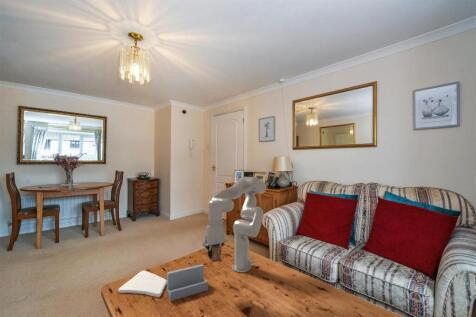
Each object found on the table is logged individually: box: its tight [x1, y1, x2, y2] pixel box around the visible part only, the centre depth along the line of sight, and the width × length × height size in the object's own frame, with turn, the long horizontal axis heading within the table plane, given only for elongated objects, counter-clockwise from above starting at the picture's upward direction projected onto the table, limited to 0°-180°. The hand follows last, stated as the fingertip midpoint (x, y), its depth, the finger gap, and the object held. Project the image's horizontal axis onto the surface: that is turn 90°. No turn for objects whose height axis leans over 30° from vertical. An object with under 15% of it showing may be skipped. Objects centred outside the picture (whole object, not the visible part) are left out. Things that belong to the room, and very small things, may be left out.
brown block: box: [208, 244, 221, 263], centre depth 114 cm, size 4×6×8 cm
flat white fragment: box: [117, 269, 167, 298], centre depth 119 cm, size 21×4×25 cm
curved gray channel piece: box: [166, 264, 209, 302], centre depth 114 cm, size 20×10×10 cm, turn 118°
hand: (214, 256), depth 114 cm, fingers closed on brown block, 4 cm apart
